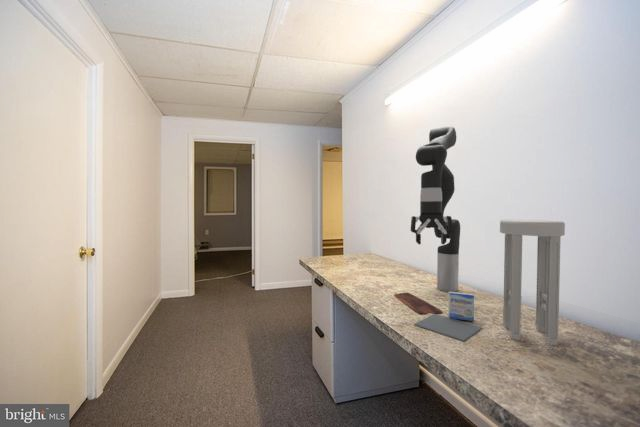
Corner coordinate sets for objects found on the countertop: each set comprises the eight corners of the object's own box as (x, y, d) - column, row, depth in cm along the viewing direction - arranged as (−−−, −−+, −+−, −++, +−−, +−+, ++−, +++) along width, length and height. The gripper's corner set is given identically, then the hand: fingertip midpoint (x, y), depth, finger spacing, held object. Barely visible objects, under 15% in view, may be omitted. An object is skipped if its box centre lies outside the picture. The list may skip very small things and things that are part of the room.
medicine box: (448, 318, 102) (449, 292, 103) (448, 315, 106) (448, 290, 107) (474, 321, 99) (474, 295, 100) (472, 318, 103) (473, 293, 104)
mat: (434, 314, 107) (434, 313, 107) (482, 328, 95) (482, 327, 95) (414, 325, 97) (414, 323, 97) (464, 341, 86) (464, 340, 86)
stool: (504, 340, 86) (506, 221, 85) (494, 321, 101) (496, 219, 100) (570, 350, 81) (573, 222, 80) (550, 328, 95) (552, 220, 94)
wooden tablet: (390, 291, 133) (410, 288, 134) (390, 296, 133) (411, 292, 134) (419, 313, 106) (444, 308, 108) (419, 319, 106) (445, 314, 108)
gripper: (448, 200, 112) (447, 242, 112) (409, 200, 113) (409, 242, 114) (454, 200, 104) (454, 245, 105) (413, 200, 106) (413, 245, 107)
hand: (430, 244), depth 110 cm, fingers open, 8 cm apart
